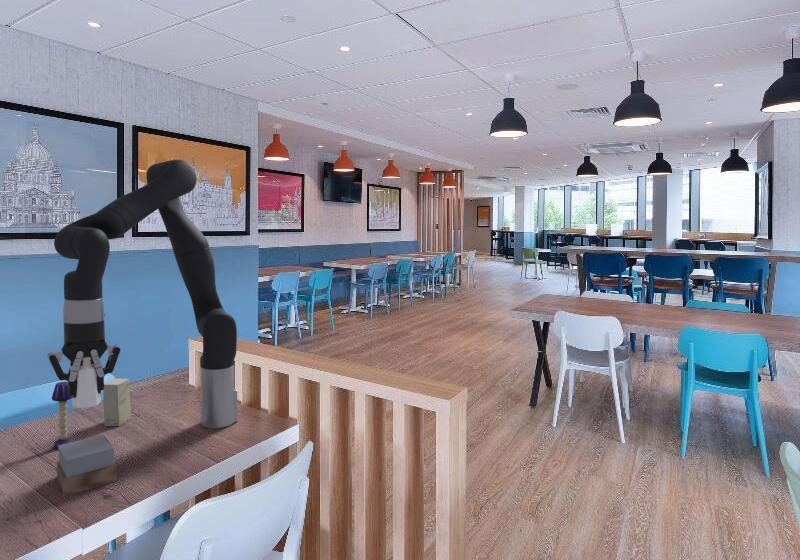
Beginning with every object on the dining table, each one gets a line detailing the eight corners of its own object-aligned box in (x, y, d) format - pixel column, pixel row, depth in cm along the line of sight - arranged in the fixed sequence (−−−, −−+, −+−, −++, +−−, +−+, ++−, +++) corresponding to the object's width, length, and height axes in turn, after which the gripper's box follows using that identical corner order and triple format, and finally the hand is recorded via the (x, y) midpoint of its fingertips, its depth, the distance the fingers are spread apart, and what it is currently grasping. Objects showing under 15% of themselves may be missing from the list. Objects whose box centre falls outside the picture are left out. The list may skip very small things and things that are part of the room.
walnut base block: (107, 465, 118) (106, 449, 118) (117, 482, 111) (116, 465, 110) (57, 478, 112) (56, 461, 111) (64, 497, 104) (63, 479, 104)
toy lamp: (72, 439, 130) (69, 378, 128) (78, 445, 127) (75, 382, 125) (51, 445, 126) (47, 383, 124) (57, 451, 123) (53, 387, 121)
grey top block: (104, 450, 117) (103, 434, 117) (114, 464, 111) (113, 447, 110) (59, 462, 111) (58, 445, 110) (67, 478, 104) (66, 460, 104)
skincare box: (119, 426, 139) (117, 385, 137) (103, 426, 139) (101, 384, 137) (131, 418, 145) (130, 378, 143) (116, 417, 145) (115, 377, 144)
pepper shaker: (87, 409, 106) (86, 360, 105) (65, 406, 107) (64, 357, 106) (106, 401, 112) (105, 354, 110) (86, 398, 113) (85, 351, 111)
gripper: (116, 313, 115) (117, 384, 117) (41, 319, 105) (44, 396, 107) (125, 318, 109) (126, 393, 111) (47, 325, 100) (50, 406, 102)
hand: (86, 394), depth 109 cm, fingers closed on pepper shaker, 4 cm apart
